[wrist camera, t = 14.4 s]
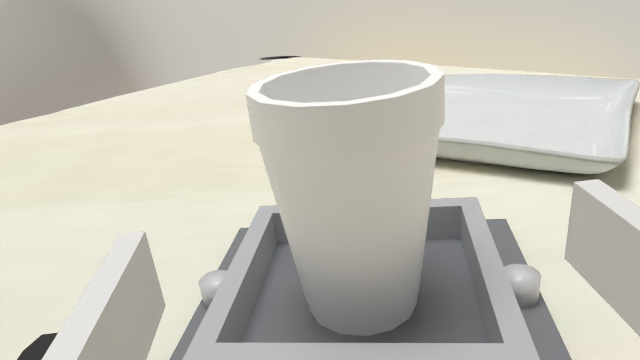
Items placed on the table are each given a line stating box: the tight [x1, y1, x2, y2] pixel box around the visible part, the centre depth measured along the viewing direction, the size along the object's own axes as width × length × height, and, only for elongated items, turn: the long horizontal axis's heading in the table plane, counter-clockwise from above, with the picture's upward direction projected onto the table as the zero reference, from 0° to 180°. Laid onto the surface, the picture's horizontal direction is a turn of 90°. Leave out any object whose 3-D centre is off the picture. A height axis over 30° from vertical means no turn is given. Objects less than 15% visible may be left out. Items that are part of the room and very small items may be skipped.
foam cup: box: [246, 60, 445, 336], centre depth 26 cm, size 10×9×13 cm
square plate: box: [436, 74, 640, 174], centre depth 57 cm, size 27×27×4 cm
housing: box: [170, 197, 572, 360], centre depth 29 cm, size 20×18×4 cm
